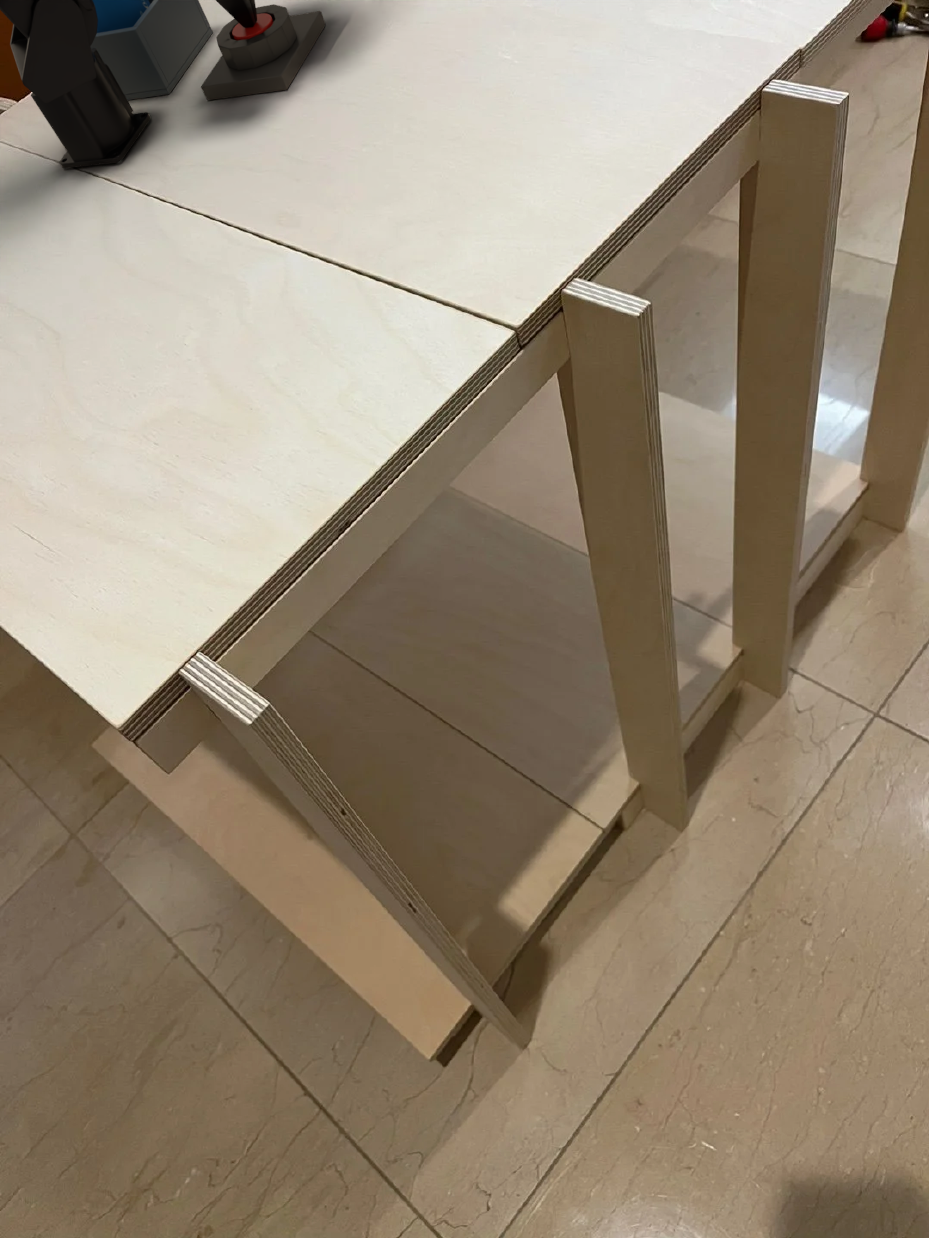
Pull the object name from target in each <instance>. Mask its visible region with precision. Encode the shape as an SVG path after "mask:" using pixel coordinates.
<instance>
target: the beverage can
mask: <svg viewBox="0 0 929 1238" xmlns="http://www.w3.org/2000/svg"><path fill="white" fill-rule="evenodd" d="M92 1H93V2H94V5H95V8H96V13H97V18H98V25H97V33H101V32H107V31H113V30H118V29H124V28H130V27H133V26H134V25H135V24H136V22H137V21H138V20H139V18H140V17H141V16H142V15H143V13H144V12H145V11H146V9H147V8H148V7H149V6H150V2H149V0H92Z"/></svg>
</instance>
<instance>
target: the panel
mask: <svg viewBox="0 0 929 1238" xmlns="http://www.w3.org/2000/svg"><path fill="white" fill-rule="evenodd" d="M256 13H257V14H262V13H265V14H269V15H270V16H271V17H272V20H273V24H272V25H271V27H270V28H268V29H267V30H266V31H264V32H263V33H261V34H259V35H257V36H254V37H252V38H250V39H245V40H238V41H236V40H235V39H234V37H233V34H232V31H233V29H234V27H235V26H236V25H237V24H238V22H237V21H236V20H235V19H234V18H233V19H231V20H230V21H229V22H227V23H226V24H225V25H223V27H222V28H221V30H220V31H219V33H218V34H217V36H216V37H215V39H216V43H217V47H218V49H219V51H220V54H221V56H220V57H219V59H218V60H217V62H216V63H215V65H214V67H213V68H212V70H211V71H210V73H209V74H208V75H207V77H206V78H205V80H204V81H203V83H202V85H201V86H200V88H201V91H202V93H203V95H204V97H205V99H206V100H207V101H213V100H221V99H227V98H235V97H244V96H251V95H258V94H265V93H272V92H280V91H286V90H288V88H289V87H290V85H291V84H292V82H293V81H294V79H295V77H296V76H297V74H298V72H299V70H300V69H301V67H302V65H303V64H304V62H305V61H306V59H307V57H308V56H309V54H310V52H311V50H312V49H313V47H314V46H315V43H316V42H317V40H318V38H319V37H320V35H321V33H322V32H323V30H324V28H325V27H326V21H325V18H324V15H323V13H322V11H321V10H316V11H311V12H305V13H299V14H292V15H290V13H289V11H288V8H287V7H286V6H283V5H278V4H268V5H262V6H256Z"/></svg>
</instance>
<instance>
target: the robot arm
mask: <svg viewBox="0 0 929 1238" xmlns="http://www.w3.org/2000/svg"><path fill="white" fill-rule="evenodd" d="M215 1H216V2H217V3H218V4H219V5H220V6H221V7H222V8H223V9H224V10H225V11H226V12H227V13H228V15H230V16H231V17H232V18H233V19H235V20H236V21H237V22H238V23H239V24H240V25H242V26H243V27H244V28H249V27H254V25H255V24H256V22H257V13H256V8H257V6H256V0H215ZM0 11H1V13H2V14H3V15H4V16H5V17H7V19H8V20H9V21H10V22H11V23H12V30H11V36H10V42H9V46H10V48H11V52H12V55H13V58H14V60H15V64H16V67H17V70H18V73H19V76H20V80H21V82H22V85H23V86H24V87H25V88H26V89H27V90H29V91H30V92H31V94H30V97H31V98H32V101H34V103H35V105H36V106H37V107H38V109H39V111H40V112H41V114H42V115H43V117H44V118H45V120H46V121H47V123H48V125H49V126H50V128H51V129H52V131H53V132H54V134H55V135H56V137H57V138H58V140H59V142H60V143H61V144H62V146H63V148H64V149H65V151H66V152H65V154H64V155H62V158H61V159H60V160H59V165H60V166H61V168H62V169H71V168H81V167H89V166H90V167H91V166H98V165H108V164H117V163H119V162H121V161H123V159H124V158H125V157H126V155H127V154H128V152H129V151H130V149H131V148H132V147H133V145H134V144H135V142H136V141H137V140H138V138H139V136H140V135H141V134H142V133H143V131H144V130H145V128H146V127H147V125H148V124H149V122H150V121H151V119H152V118H151V115H150V114H149V113H148V112H138V113H133V112H134V109H133V107H132V106H131V104H130V101H129V100H127V98H126V97H125V95H124V93H123V91H122V90H121V88H120V86H119V84H118V82H117V81H116V79H115V77H114V75H113V74H112V72H111V70H110V68H109V67H108V65H107V64H104V62H103V60H102V58H101V56H100V55H99V53H98V51H97V49H96V48H93V49H91V47H90V46H91V45H92V43H93V41H94V38H95V36H96V34H97V25H98V18H97V13H96V8H95V5H94V2H93V1H92V0H0Z"/></svg>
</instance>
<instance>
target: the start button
mask: <svg viewBox="0 0 929 1238" xmlns="http://www.w3.org/2000/svg"><path fill="white" fill-rule="evenodd" d="M272 24H273V20H272V17H271V16H270V15H269V14H265V13H262V14H257V22H256V24H255V25H254V27H249V28H244V27H243V26H242V25H240V24H239V23H238V24H237V25H236V26H235V27H234V29H233V31H232V34H233V37H234V39H235V40H236V41H238V40H245V39H250V38H252V37H254V36H257V35H259V34H261V33H263V32H264V31H266V30H267V29H268V28H270V27H271V25H272Z"/></svg>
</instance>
